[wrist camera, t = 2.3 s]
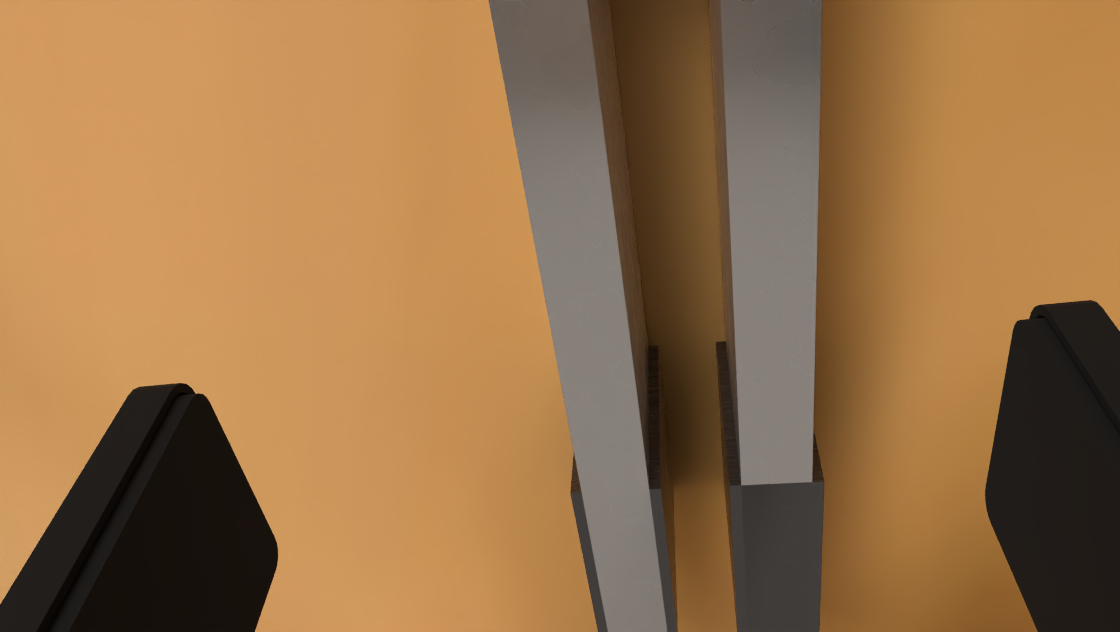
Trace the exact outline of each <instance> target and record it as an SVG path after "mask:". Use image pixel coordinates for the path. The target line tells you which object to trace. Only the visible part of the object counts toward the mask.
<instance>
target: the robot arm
mask: <svg viewBox="0 0 1120 632" xmlns="http://www.w3.org/2000/svg"><path fill="white" fill-rule="evenodd" d="M985 500H986V507H987V512H988V516H989V519H990V522H991V524H992V527H993V529H994V531H995V534H996V536H997V538H998V541H999V543H1000V545H1001V547H1002V550H1003V552H1004V554H1005V557H1006V559H1007V561H1008V564H1009V566H1010V568H1011V571H1012V573H1013V575H1014V578H1015V580H1016V582H1017V585H1018V587H1019V589H1020V591H1021V594H1022V596H1023V598H1024V601H1025V603H1026V605H1027V608H1028V610H1029V612H1030V615H1031V617H1032V619H1033V622H1034V624H1035V626H1036V628H1037V631H1038V632H1120V331H1119V330H1118V329H1117V327H1116V326H1115V325H1114V323H1113V322H1112V320H1111V319H1110V318H1109V316H1108V315H1107V314H1106V312H1105V311H1104V309H1103V308H1102V307H1101V306H1100V305H1099V304H1098V303H1097V302H1095V301H1092V300H1089V301H1078V302H1067V303H1056V304H1045V305H1038V306H1036V307H1034V309H1033V310H1032V312H1031V315H1030V318H1029V319H1026V320H1019V321H1017V322H1016V324H1015V326H1014V329H1013V333H1012V339H1011V345H1010V351H1009V356H1008V362H1007V368H1006V374H1005V379H1004V385H1003V391H1002V397H1001V402H1000V408H999V414H998V420H997V425H996V431H995V437H994V442H993V448H992V454H991V460H990V465H989V471H988V477H987V483H986V490H985ZM277 561H278V548H277V542H276V540H275V537H274V535H273V533H272V531H271V529H270V526H269V524H268V522H267V520H266V518H265V516H264V514H263V512H262V510H261V508H260V506H259V504H258V502H257V499H256V497H255V495H254V493H253V491H252V489H251V487H250V485H249V483H248V481H247V479H246V477H245V475H244V472H243V470H242V468H241V466H240V464H239V462H238V460H237V458H236V456H235V454H234V452H233V450H232V448H231V445H230V443H229V441H228V439H227V437H226V435H225V433H224V431H223V429H222V427H221V425H220V423H219V421H218V418H217V416H216V414H215V412H214V410H213V408H212V406H211V404H210V402H209V400H208V399H207V397H206V396H204V395H203V394H195V392H194V391H193V389H192V388H191V387H190V386H188V385H187V384H183V383H177V384H166V385H155V386H144V387H138V388H136V389H134V390H133V391H132V392H131V393H130V394H129V395H128V397H127V398H126V400H125V402H124V403H123V405H122V407H121V408H120V410H119V411H118V413H117V415H116V416H115V418H114V420H113V421H112V423H111V425H110V426H109V428H108V429H107V431H106V433H105V434H104V436H103V438H102V439H101V441H100V443H99V444H98V446H97V447H96V449H95V451H94V452H93V454H92V456H91V457H90V459H89V460H88V462H87V464H86V465H85V467H84V469H83V470H82V472H81V474H80V475H79V477H78V478H77V480H76V482H75V483H74V485H73V487H72V488H71V490H70V492H69V493H68V495H67V496H66V498H65V500H64V501H63V503H62V505H61V506H60V508H59V510H58V511H57V513H56V514H55V516H54V518H53V519H52V521H51V523H50V524H49V526H48V527H47V529H46V531H45V532H44V534H43V536H42V537H41V539H40V541H39V542H38V544H37V545H36V547H35V549H34V550H33V552H32V554H31V555H30V557H29V559H28V560H27V562H26V563H25V565H24V567H23V568H22V570H21V572H20V573H19V575H18V576H17V578H16V580H15V581H14V583H13V585H12V586H11V588H10V590H9V591H8V593H7V594H6V596H5V598H4V599H3V601H2V603H1V604H0V632H255V629H256V626H257V623H258V620H259V617H260V615H261V612H262V609H263V606H264V603H265V600H266V597H267V594H268V591H269V588H270V585H271V583H272V580H273V577H274V574H275V571H276V567H277Z"/></svg>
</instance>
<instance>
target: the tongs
mask: <svg viewBox="0 0 1120 632" xmlns="http://www.w3.org/2000/svg"><path fill="white" fill-rule="evenodd" d="M708 1H709V21H710V41H711V60H712V80H713V100H714V120H715V140H716V159H717V179H718V199H719V219H720V238H721V258H722V278H723V298H724V318H725V337H726V342H716V351H717V369H718V386H719V403H720V420H721V437H722V454H723V471H724V488H725V500H726V511H727V522H728V533H729V544H730V556H731V567H732V578H733V589H734V600H735V612H736V623H737V632H819V626H820V595H821V564H822V533H823V501H824V478H823V473H822V469H821V464H820V459H819V454H818V449H817V444H816V439H815V434H814V429H813V420H814V373H815V326H816V279H817V231H818V184H819V137H820V90H821V43H822V0H708ZM489 5H490V10H491V16H492V21H493V26H494V32H495V37H496V42H497V47H498V53H499V58H500V63H501V69H502V74H503V79H504V84H505V90H506V95H507V100H508V106H509V111H510V116H511V121H512V127H513V132H514V137H515V143H516V148H517V153H518V159H519V164H520V169H521V174H522V180H523V185H524V190H525V196H526V201H527V206H528V211H529V217H530V222H531V227H532V233H533V238H534V243H535V248H536V254H537V259H538V264H539V270H540V275H541V280H542V285H543V291H544V296H545V301H546V307H547V312H548V317H549V323H550V328H551V333H552V338H553V344H554V349H555V354H556V360H557V365H558V370H559V375H560V381H561V386H562V391H563V397H564V402H565V407H566V412H567V418H568V423H569V428H570V434H571V439H572V444H573V450H574V457H573V469H572V481H571V498H572V503H573V508H574V513H575V518H576V523H577V528H578V533H579V538H580V543H581V548H582V553H583V558H584V563H585V568H586V573H587V578H588V583H589V588H590V593H591V598H592V603H593V608H594V613H595V618H596V623H597V628H598V632H678V627H677V595H676V563H675V531H674V499H673V483H672V474H671V464H670V455H669V445H668V436H667V426H666V417H665V407H664V398H663V388H662V379H661V369H660V360H659V350H658V346H652V347H648V338H647V329H646V320H645V311H644V302H643V293H642V285H641V276H640V267H639V258H638V249H637V240H636V231H635V223H634V214H633V205H632V196H631V187H630V178H629V169H628V161H627V152H626V143H625V134H624V125H623V116H622V107H621V99H620V90H619V81H618V72H617V63H616V54H615V45H614V37H613V28H612V19H611V10H610V1H609V0H489Z"/></svg>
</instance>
